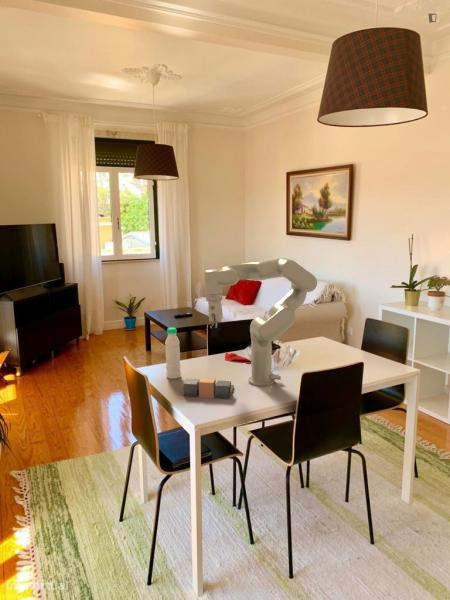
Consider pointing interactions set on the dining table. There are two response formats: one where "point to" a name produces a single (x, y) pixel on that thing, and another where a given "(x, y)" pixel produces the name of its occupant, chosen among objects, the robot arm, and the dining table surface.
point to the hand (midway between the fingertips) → (216, 333)
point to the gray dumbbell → (221, 388)
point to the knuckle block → (207, 387)
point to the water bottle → (172, 354)
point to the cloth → (235, 358)
